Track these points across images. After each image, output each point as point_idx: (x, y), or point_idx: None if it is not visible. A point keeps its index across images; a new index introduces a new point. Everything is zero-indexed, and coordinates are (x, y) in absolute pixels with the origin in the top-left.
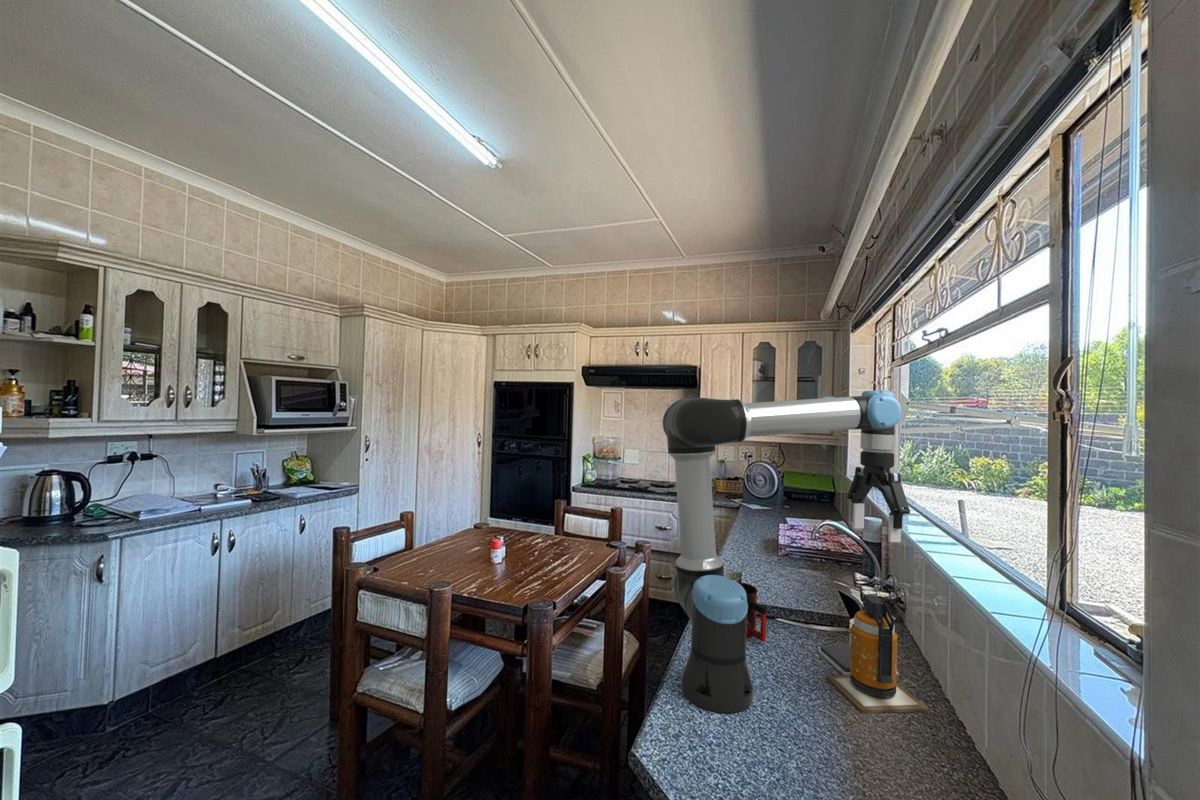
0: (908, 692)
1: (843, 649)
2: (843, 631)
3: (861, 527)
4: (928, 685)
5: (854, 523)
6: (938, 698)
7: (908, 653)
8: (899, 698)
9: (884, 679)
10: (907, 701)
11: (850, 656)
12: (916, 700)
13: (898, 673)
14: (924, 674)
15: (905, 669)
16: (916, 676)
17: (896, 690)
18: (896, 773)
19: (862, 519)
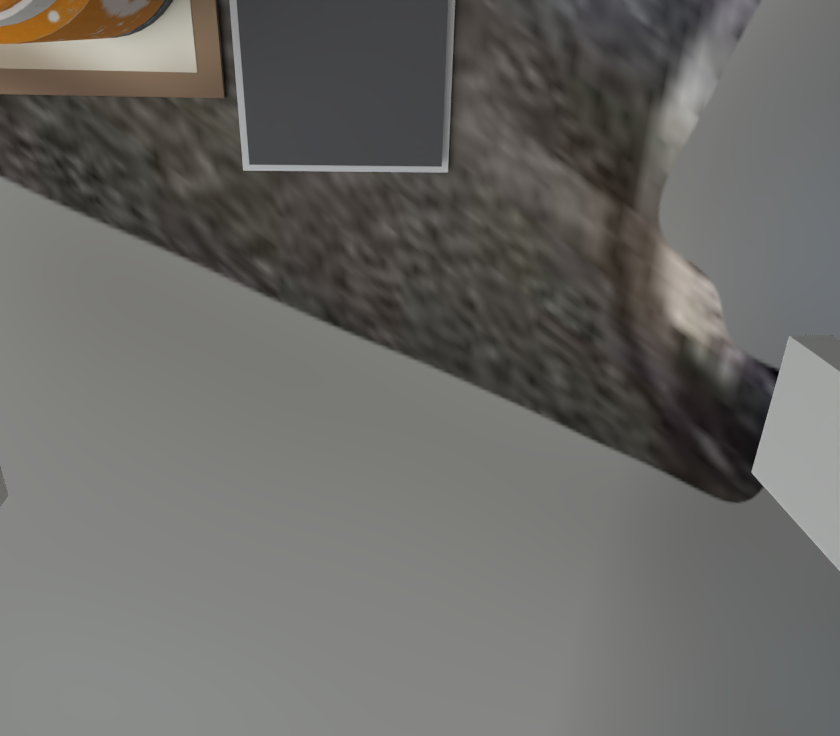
0: (84, 94)
1: (413, 15)
2: (632, 185)
3: (768, 446)
4: (175, 237)
5: (837, 367)
6: (82, 206)
7: (417, 337)
8: None
9: None
10: None
11: (345, 5)
12: (23, 83)
13: (244, 169)
14: (257, 282)
15: (293, 233)
16: (240, 239)
17: (88, 45)
18: None
19: (837, 534)
